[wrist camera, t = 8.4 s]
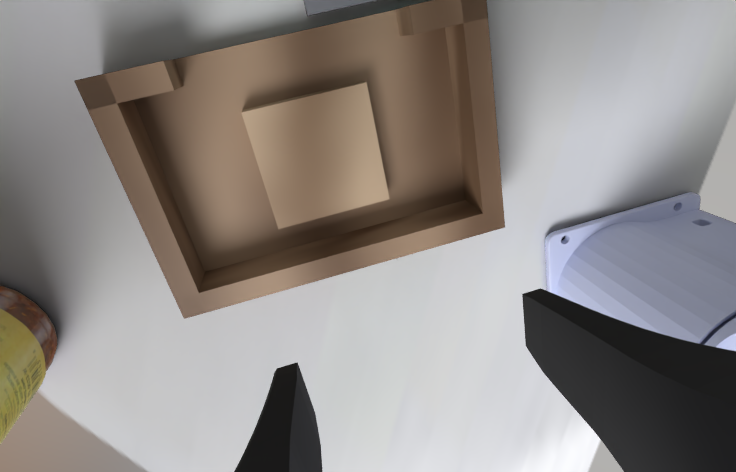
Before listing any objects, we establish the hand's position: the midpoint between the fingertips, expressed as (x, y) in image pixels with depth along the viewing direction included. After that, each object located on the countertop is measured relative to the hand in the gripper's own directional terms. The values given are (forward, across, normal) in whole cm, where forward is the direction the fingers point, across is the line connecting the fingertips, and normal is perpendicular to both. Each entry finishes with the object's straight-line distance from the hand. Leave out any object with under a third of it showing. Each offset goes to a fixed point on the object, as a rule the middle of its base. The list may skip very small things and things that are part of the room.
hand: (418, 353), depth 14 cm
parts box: (+10, +1, -4) cm, 11 cm away
